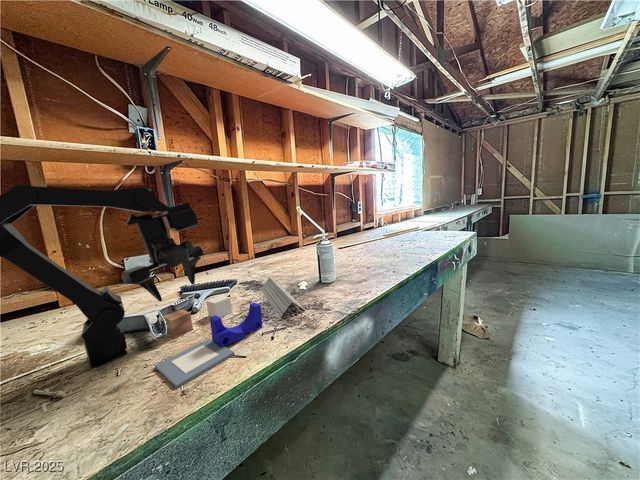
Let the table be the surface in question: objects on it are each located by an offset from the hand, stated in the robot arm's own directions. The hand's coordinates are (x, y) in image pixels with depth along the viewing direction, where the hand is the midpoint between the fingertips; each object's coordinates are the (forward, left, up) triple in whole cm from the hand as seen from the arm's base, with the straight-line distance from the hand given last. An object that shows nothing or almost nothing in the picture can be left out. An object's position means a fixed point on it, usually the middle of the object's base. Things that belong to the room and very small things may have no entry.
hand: (177, 292), depth 68 cm
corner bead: (+28, -8, -12) cm, 32 cm away
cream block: (+11, 0, -11) cm, 15 cm away
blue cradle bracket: (+6, -18, -11) cm, 21 cm away
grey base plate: (-5, -18, -11) cm, 22 cm away
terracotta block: (-1, 0, -11) cm, 11 cm away
